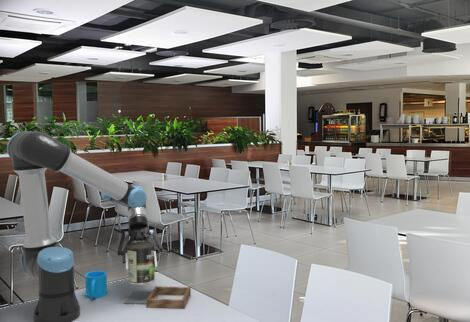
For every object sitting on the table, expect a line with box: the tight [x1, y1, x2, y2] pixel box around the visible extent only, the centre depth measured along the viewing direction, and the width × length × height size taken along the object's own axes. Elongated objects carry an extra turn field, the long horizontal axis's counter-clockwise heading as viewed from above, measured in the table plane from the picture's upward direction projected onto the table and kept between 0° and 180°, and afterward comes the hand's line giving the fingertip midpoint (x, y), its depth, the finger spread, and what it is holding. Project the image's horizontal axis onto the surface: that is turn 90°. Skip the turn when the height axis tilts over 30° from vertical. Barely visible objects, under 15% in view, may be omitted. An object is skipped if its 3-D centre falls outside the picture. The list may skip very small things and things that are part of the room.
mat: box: [123, 290, 153, 305], centre depth 177 cm, size 9×12×1 cm
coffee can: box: [126, 241, 156, 286], centre depth 177 cm, size 10×10×14 cm
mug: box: [84, 270, 108, 299], centre depth 179 cm, size 12×8×8 cm
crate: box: [145, 286, 191, 310], centre depth 174 cm, size 14×14×3 cm
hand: (141, 269), depth 174 cm, fingers closed on coffee can, 10 cm apart
